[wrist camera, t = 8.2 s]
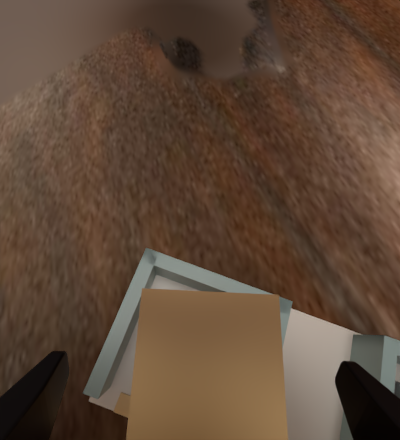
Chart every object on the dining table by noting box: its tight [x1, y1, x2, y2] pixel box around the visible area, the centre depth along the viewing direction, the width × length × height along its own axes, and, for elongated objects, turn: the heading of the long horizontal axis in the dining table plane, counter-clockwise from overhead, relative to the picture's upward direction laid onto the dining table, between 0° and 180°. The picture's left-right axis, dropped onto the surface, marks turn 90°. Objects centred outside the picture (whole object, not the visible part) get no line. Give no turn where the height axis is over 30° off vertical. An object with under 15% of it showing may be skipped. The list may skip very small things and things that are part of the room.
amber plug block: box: [126, 288, 288, 440], centre depth 13 cm, size 5×5×10 cm
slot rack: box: [83, 248, 400, 440], centre depth 17 cm, size 9×24×4 cm, turn 71°
